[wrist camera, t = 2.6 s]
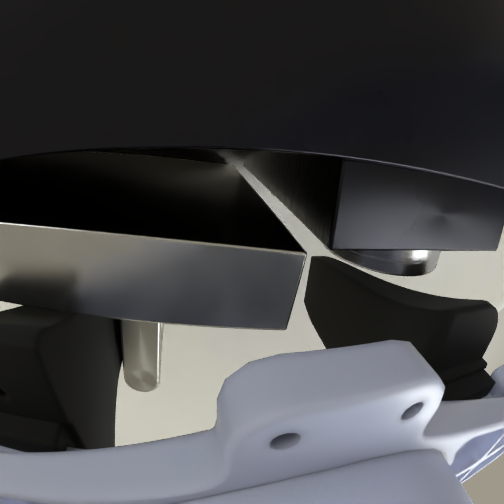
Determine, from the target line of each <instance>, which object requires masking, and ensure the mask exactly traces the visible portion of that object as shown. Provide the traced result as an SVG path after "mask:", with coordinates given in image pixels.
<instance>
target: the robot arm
mask: <svg viewBox="0 0 504 504" xmlns="http://www.w3.org/2000/svg"><path fill="white" fill-rule="evenodd" d="M304 303H305V306H306V309H307V312H308V314H309V317H310V320H311V322H312V324H313V326H314V328H315V329H316V331H317V333H318V335H319V337H320V338H321V340H322V342H323V344H324V346H325V347H326V349H324V350H315V351H306V352H295V353H284V354H278V355H274V356H270V357H267V358H263V359H259V360H255V361H251V362H248V363H247V364H246V365H244V366H243V367H241V368H240V369H239V370H237V371H236V372H235V373H233V374H232V375H230V376H229V377H228V378H226V379H225V381H224V383H223V386H222V388H221V390H220V393H219V395H218V397H217V419H216V424H215V426H214V427H213V428H212V429H209V430H205V431H200V432H196V433H192V434H187V435H182V436H177V437H172V438H167V439H162V440H157V441H151V442H145V443H139V444H132V445H125V446H117V447H115V412H116V397H117V386H118V378H119V373H120V368H121V364H122V348H121V333H120V319H114V318H106V317H98V316H90V315H83V314H76V313H69V312H62V311H55V310H49V309H43V308H37V307H31V306H25V305H23V306H20V307H16V308H13V309H9V310H5V311H1V312H0V504H473V502H472V500H471V499H470V497H469V496H468V494H467V493H466V491H465V489H464V488H463V486H462V484H461V483H463V482H464V481H466V480H467V479H468V478H470V477H471V476H473V475H474V474H476V473H477V472H479V471H480V470H481V469H483V468H484V467H485V466H487V465H488V464H490V463H491V462H492V461H494V460H495V459H496V458H497V457H499V456H500V455H502V454H503V453H504V365H502V366H500V367H498V368H497V369H496V370H495V371H494V372H493V373H492V374H491V376H489V374H488V373H487V372H486V371H485V370H484V369H485V368H486V366H487V362H486V361H485V360H484V359H483V358H482V357H483V355H484V353H485V351H486V349H487V347H488V345H489V343H490V341H491V339H492V337H493V335H494V333H495V330H496V327H497V323H498V312H497V310H496V308H495V307H494V306H493V305H491V304H490V303H489V302H487V301H484V300H469V299H456V298H448V297H441V296H436V295H431V294H426V293H422V292H418V291H414V290H410V289H407V288H404V287H401V286H398V285H395V284H392V283H389V282H387V281H384V280H382V279H379V278H377V277H374V276H372V275H370V274H368V273H365V272H363V271H361V270H359V269H357V268H354V267H352V266H350V265H348V264H346V263H344V262H341V261H339V260H336V259H334V258H331V257H327V256H312V257H311V263H310V269H309V275H308V281H307V287H306V292H305V298H304Z"/></svg>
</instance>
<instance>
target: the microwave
mask: <svg viewBox="0 0 504 504" xmlns="http://www.w3.org/2000/svg"><path fill="white" fill-rule="evenodd" d="M142 148H203V149H233V150H244V164H243V165H244V167H245V168H246V169H247V170H248V171H250V172H251V173H252V174H253V175H254V176H255V177H256V178H257V179H258V180H259V181H260V182H261V183H262V184H263V185H264V186H265V187H266V188H267V189H268V190H269V191H271V193H272V194H273V195H274V196H276V197H277V198H278V199H279V200H280V201H281V202H282V203H283V204H284V205H285V206H286V207H287V208H288V209H289V210H290V211H291V212H292V213H293V214H294V215H295V216H296V217H297V218H298V219H299V220H300V221H301V222H302V223H303V224H304V225H305V226H306V227H307V228H308V229H309V230H310V231H311V232H312V233H313V234H314V235H315V236H316V237H317V238H318V239H319V240H320V241H321V242H322V243H323V244H324V246H325V247H326V248H327V249H328V250H329V251H330V252H331V253H333V254H334V255H335V256H337V257H339V258H341V259H343V260H345V261H347V262H349V263H351V264H354V265H356V266H359V267H362V268H365V269H368V270H371V271H375V272H379V273H384V274H390V275H397V276H420V275H424V274H427V273H430V272H431V271H433V270H434V269H435V267H436V265H437V262H438V259H439V255H440V251H496V250H497V248H498V244H499V241H500V237H501V233H502V230H503V226H504V0H0V160H4V159H11V158H19V157H27V156H36V155H45V154H55V153H66V152H79V151H94V150H113V149H142Z"/></svg>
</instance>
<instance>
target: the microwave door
mask: <svg viewBox="0 0 504 504" xmlns="http://www.w3.org/2000/svg"><path fill="white" fill-rule="evenodd" d="M306 256H307V252H306V251H305V250H304V249H303V247H302V246H301V245H300V244H299V242H298V241H297V240H296V239H295V238H294V236H293V235H292V234H291V233H290V232H289V230H288V229H287V228H286V227H285V225H284V224H283V223H282V222H281V221H280V219H279V218H278V217H277V216H276V215H275V214H274V212H273V211H272V210H271V209H270V208H269V206H268V205H267V204H266V203H265V202H264V200H263V199H262V198H261V197H260V196H259V195H258V193H257V192H256V191H255V190H254V189H253V188H252V186H251V185H250V184H249V183H248V182H247V181H246V179H245V178H244V177H243V176H242V175H241V174H240V172H239V171H238V170H237V169H236V168H235V167H234V166H232V165H225V164H218V163H210V162H202V161H194V160H186V159H177V158H167V157H157V156H147V155H135V154H122V153H108V152H91V151H79V152H66V153H55V154H45V155H36V156H27V157H19V158H11V159H4V160H0V301H4V302H9V303H15V304H20V305H25V306H31V307H37V308H43V309H49V310H55V311H62V312H69V313H76V314H83V315H90V316H98V317H106V318H114V319H120V333H121V348H122V361H123V372H124V379H125V381H126V383H127V385H128V386H130V387H131V388H132V389H134V390H137V391H142V392H148V391H152V390H154V389H155V388H157V386H158V385H159V383H160V367H161V352H162V338H163V325H164V324H174V325H187V326H201V327H217V328H235V329H259V330H286V329H287V325H288V322H289V318H290V315H291V311H292V308H293V304H294V301H295V297H296V294H297V290H298V286H299V283H300V279H301V275H302V272H303V268H304V264H305V260H306Z"/></svg>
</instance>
